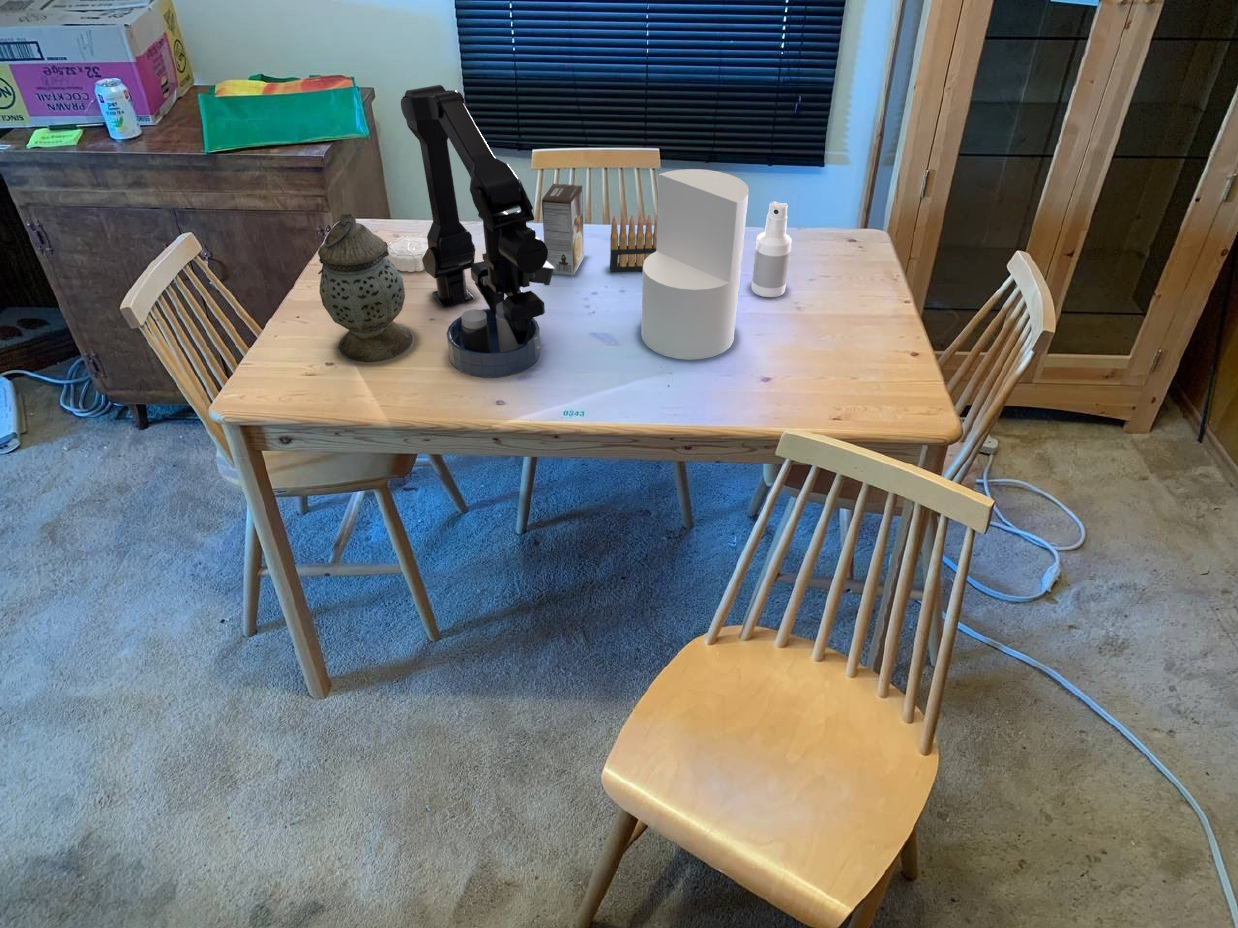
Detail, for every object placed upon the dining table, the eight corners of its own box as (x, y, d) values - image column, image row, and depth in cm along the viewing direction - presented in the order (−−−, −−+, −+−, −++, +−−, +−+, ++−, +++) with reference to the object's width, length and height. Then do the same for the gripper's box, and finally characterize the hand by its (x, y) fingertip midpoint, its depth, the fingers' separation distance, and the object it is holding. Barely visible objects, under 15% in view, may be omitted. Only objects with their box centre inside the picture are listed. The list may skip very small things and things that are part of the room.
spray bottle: (747, 294, 171) (756, 208, 159) (755, 280, 176) (765, 195, 164) (780, 300, 169) (792, 213, 157) (788, 285, 174) (800, 200, 162)
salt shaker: (495, 345, 154) (490, 304, 149) (518, 339, 156) (514, 297, 151) (505, 357, 151) (501, 315, 146) (528, 350, 153) (525, 308, 148)
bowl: (437, 345, 155) (433, 321, 152) (518, 324, 161) (516, 300, 158) (470, 389, 144) (467, 364, 141) (555, 364, 150) (554, 339, 147)
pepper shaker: (462, 354, 152) (456, 312, 147) (485, 348, 154) (481, 306, 148) (471, 366, 149) (466, 324, 143) (495, 360, 151) (491, 317, 145)
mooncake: (376, 268, 179) (373, 252, 177) (403, 245, 188) (401, 229, 186) (427, 275, 177) (425, 259, 174) (453, 252, 186) (451, 236, 183)
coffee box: (556, 254, 185) (552, 182, 174) (584, 257, 184) (583, 184, 173) (545, 273, 178) (540, 199, 167) (574, 276, 177) (572, 201, 166)
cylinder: (684, 303, 168) (692, 161, 150) (753, 335, 158) (770, 188, 141) (622, 334, 158) (623, 187, 141) (691, 370, 149) (701, 217, 131)
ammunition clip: (659, 267, 180) (661, 212, 173) (660, 271, 179) (662, 216, 171) (609, 268, 179) (609, 214, 172) (610, 272, 178) (610, 218, 170)
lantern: (390, 370, 148) (363, 235, 133) (319, 358, 152) (284, 224, 136) (427, 331, 159) (406, 202, 143) (360, 320, 162) (332, 192, 146)
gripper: (571, 261, 139) (574, 344, 148) (523, 220, 151) (529, 299, 161) (508, 276, 134) (515, 360, 144) (465, 233, 147) (474, 313, 157)
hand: (510, 331), depth 152 cm, fingers open, 9 cm apart
